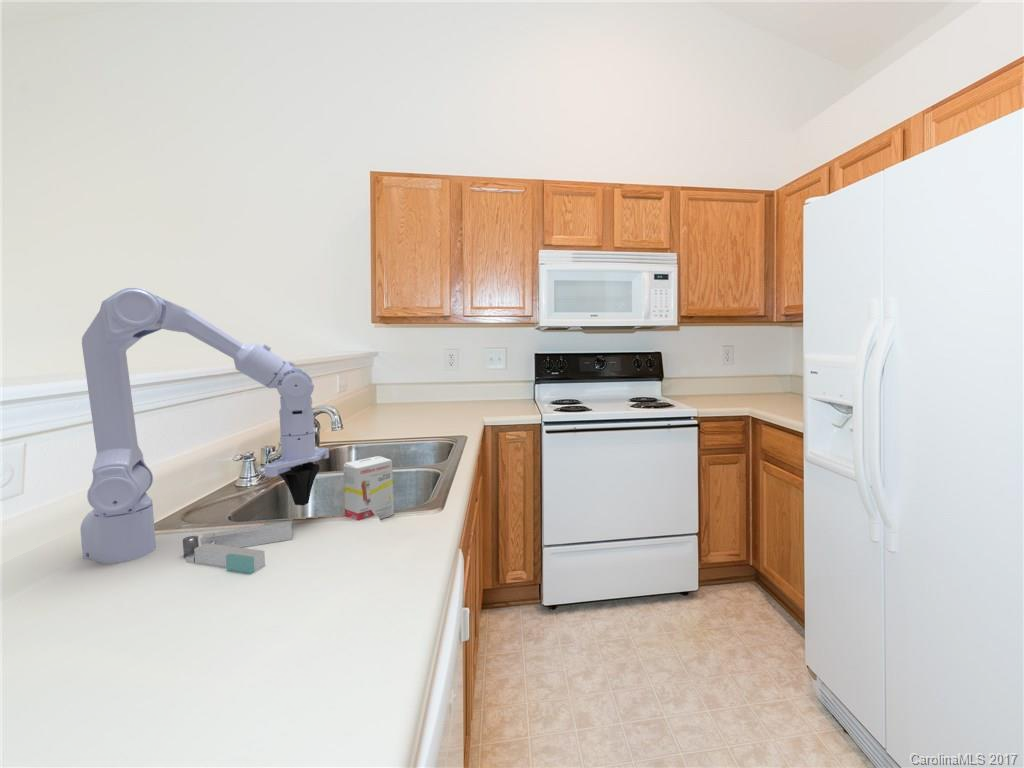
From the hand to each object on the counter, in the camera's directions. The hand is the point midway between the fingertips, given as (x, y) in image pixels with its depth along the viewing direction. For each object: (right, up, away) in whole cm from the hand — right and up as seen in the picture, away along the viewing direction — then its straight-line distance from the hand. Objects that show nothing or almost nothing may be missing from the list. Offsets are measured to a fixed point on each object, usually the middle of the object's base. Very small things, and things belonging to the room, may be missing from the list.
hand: (301, 504), depth 85 cm
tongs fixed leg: (-5, -5, -16) cm, 17 cm away
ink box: (+11, -5, +5) cm, 13 cm away
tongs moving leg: (-5, -4, -9) cm, 11 cm away
